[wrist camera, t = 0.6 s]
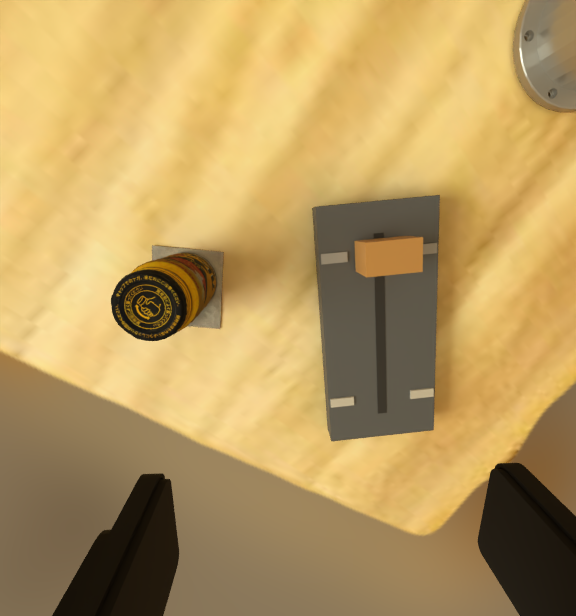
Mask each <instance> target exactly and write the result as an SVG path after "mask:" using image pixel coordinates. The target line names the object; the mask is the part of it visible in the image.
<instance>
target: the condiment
mask: <svg viewBox="0 0 576 616" xmlns="http://www.w3.org/2000/svg"><path fill="white" fill-rule="evenodd" d="M222 277H223V252H217V251H207V250H196V249H185V248H174V247H163V246H152V261H149V262H147V263H144V264H142V265H140V266H138V267H137V268H136V269H134V270H133V272H132V273H130V274H129V275H126V276H125V277H124V278H122V279H121V281H120V282H119V283H118V284H117V286H116V288H115V290H114V292H113V295H112V298H111V305H112V313H113V316H114V318H115V320H116V322H117V323H118V325H119V326H120V327H121V328H123V329H124V330H125V331H126V332H127V333H129V334H131V335H132V336H134V337H135V338H137V339H141V340H146V341H159V340H162V339H166V338H167V337H169V336H171V335H173V334H175V333H177V332H178V331H180V330H182V329H183V328H185V327H187V326H194V327H205V328H216V329H220V318H221V296H222Z"/></svg>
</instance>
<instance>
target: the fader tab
mask: <svg viewBox="0 0 576 616" xmlns="http://www.w3.org/2000/svg"><path fill="white" fill-rule="evenodd" d="M354 243H355V268H356V272H357V273H359V274H361V275H363V276H365V277H376V276H386V275H396V274H406V273H416V272H423V237H414V236H399V237H389V238H379V239H368V240H358V241H354Z"/></svg>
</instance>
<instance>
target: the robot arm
mask: <svg viewBox="0 0 576 616" xmlns="http://www.w3.org/2000/svg"><path fill="white" fill-rule="evenodd" d="M513 58H514V65H515V69H516V74H517V76H518V78H519V81H520V83H521V85H522V87H523V88H524V90H525V91H526V93H527V94H528V95H529V97H531V98H532V99H533V100H534V101H535V102H536V103H537V104H539V105H541V106H543V107H545V108H547V109H549V110H553V111H557V112H574V111H576V0H525V2H524V5H523V7H522V9H521V11H520V14H519V16H518V20H517V24H516V28H515V32H514V41H513ZM478 545H479V549H480V552H481V554H482V556H483V557H484V559H485V560H486V562H487V563H488V565H489V567H490V568H491V570H492V572H493V573H494V575H495V576H496V578H497V580H498V581H499V583H500V584H501V586H502V588H503V589H504V591H505V593H506V594H507V596H508V597H509V599H510V600H511V602H512V604H513V605H514V607H515V609H516V610H517V612H518V613H519V615H520V616H576V516H575V515H574V514H573V513H572V512H570V510H569V509H568V508H567V507H566V506H564V505H563V504H562V503H561V502H560V501H559V500H558V499H557V498H556V497H555V496H554V495H553V494H552V493H551V492H550V491H549V490H548V489H547V488H546V487H545V486H544V485H543V484H542V483H541V482H540V481H539V480H538V479H537V478H536V477H535V476H534V475H533V474H532V473H531V472H530V471H529V470H528V469H526V467H524V466H523V465H522V464H520V463H500V464H497V465H496V466H495V469H493V470H491V473H490V478H489V484H488V489H487V494H486V499H485V504H484V509H483V515H482V520H481V525H480V530H479V536H478ZM178 559H179V547H178V538H177V530H176V522H175V513H174V504H173V496H172V487H171V481H170V479H165V476H164V475H163V474H143V475H141V476H140V478H139V479H138V481H137V483H136V485H135V487H134V488H133V490H132V492H131V494H130V496H129V498H128V500H127V501H126V503H125V505H124V507H123V509H122V511H121V513H120V514H119V517H118V518H117V520H116V522H115V524H114V526H113V528H112V529H111V530H104V531H103V532H101V533H100V534H99V536H98V537H97V539H96V540H95V542H94V543H93V545H92V547H91V549H90V550H89V552H88V554H87V556H86V557H85V559H84V561H83V563H82V564H81V566H80V568H79V570H78V571H77V573H76V575H75V577H74V578H73V580H72V582H71V584H70V585H69V587H68V589H67V591H66V592H65V594H64V596H63V598H62V599H61V601H60V603H59V605H58V606H57V608H56V610H55V612H54V613H53V615H52V616H163V614H164V611H165V607H166V603H167V600H168V597H169V593H170V590H171V586H172V583H173V579H174V576H175V573H176V569H177V565H178Z"/></svg>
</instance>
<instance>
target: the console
mask: <svg viewBox="0 0 576 616" xmlns="http://www.w3.org/2000/svg"><path fill="white" fill-rule="evenodd" d="M439 201H440V195H435V196H424V197H414V198H403V199H393V200H382V201H372V202H361V203H350V204H340V205H329V206H319V207H314V208H312V210H313V225H314V239H315V253H316V267H317V282H318V296H319V310H320V324H321V339H322V353H323V367H324V381H325V396H326V410H327V424H328V431H329V434H330V438H331V441H339V440H348V439H357V438H366V437H375V436H384V435H393V434H403V433H412V432H421V431H430V430H434V394H435V356H436V317H437V278H438V240H439ZM399 236H414V237H423V272H416V273H406V274H396V275H386V276H376V277H365V276H363V275H361V274H359V273H357V272H356V268H355V243H354V241H358V240H368V239H379V238H389V237H399Z"/></svg>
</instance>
